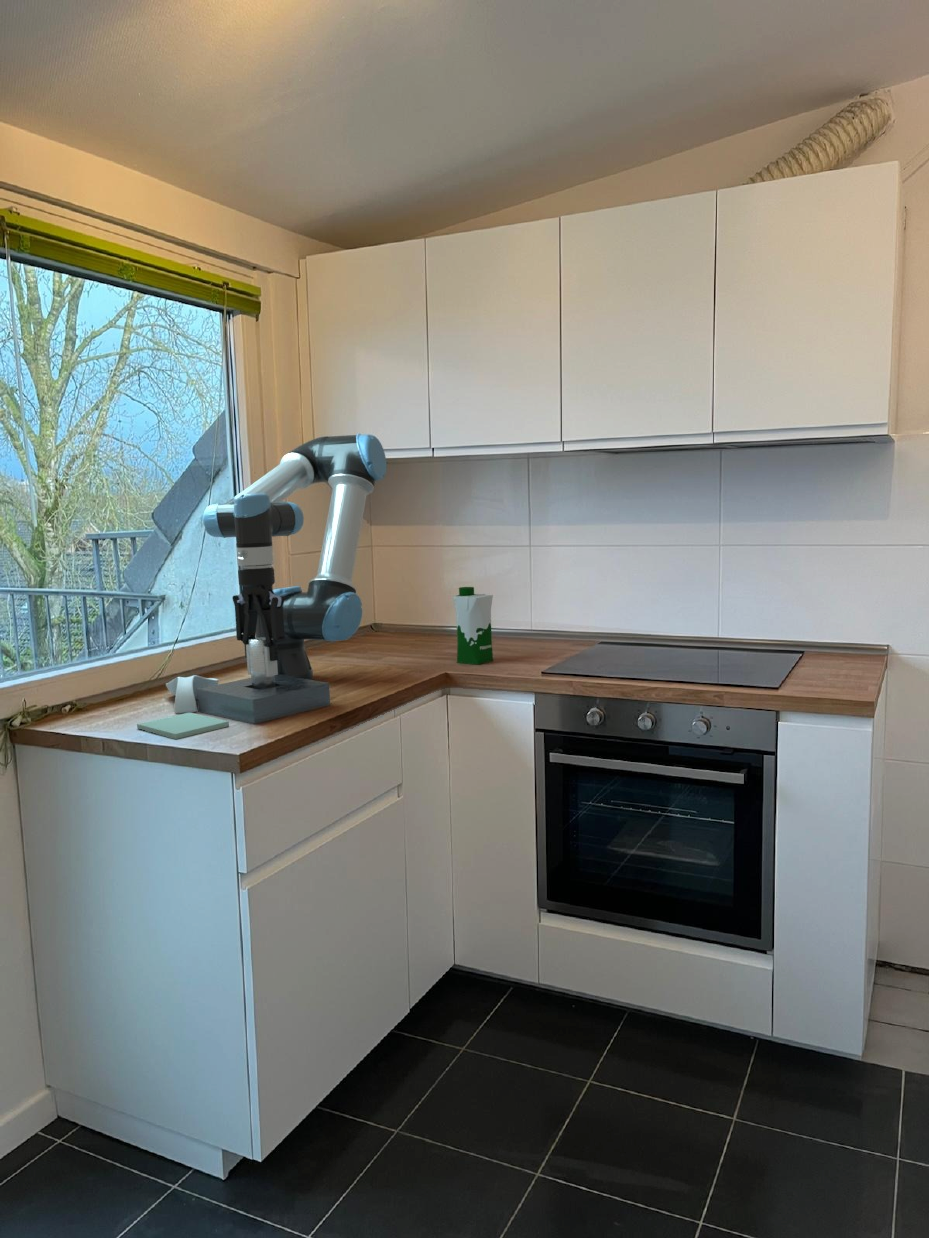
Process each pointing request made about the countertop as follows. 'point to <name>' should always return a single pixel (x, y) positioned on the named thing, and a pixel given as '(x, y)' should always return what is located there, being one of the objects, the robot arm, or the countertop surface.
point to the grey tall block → (259, 664)
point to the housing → (263, 699)
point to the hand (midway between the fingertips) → (262, 674)
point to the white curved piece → (188, 691)
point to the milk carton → (473, 627)
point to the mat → (183, 725)
